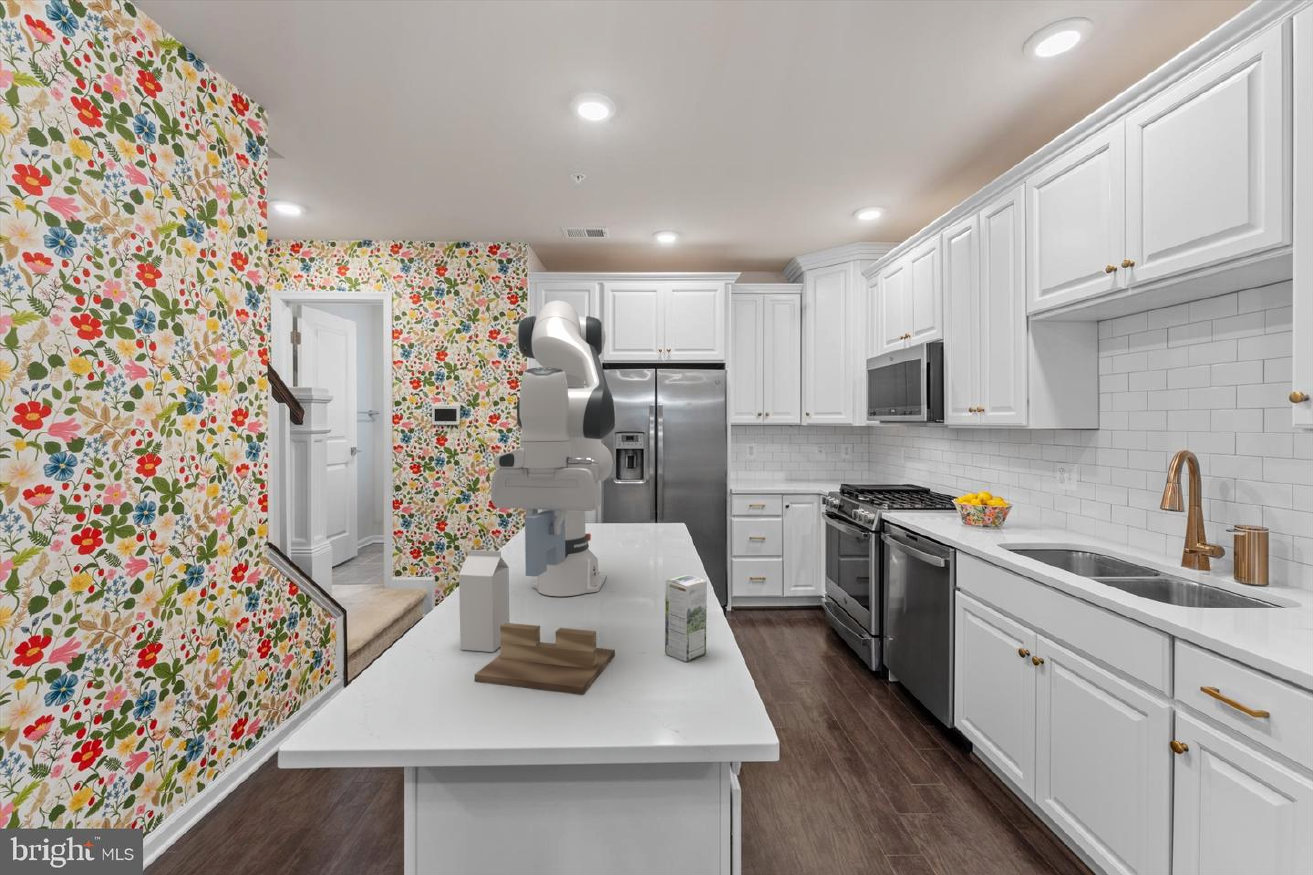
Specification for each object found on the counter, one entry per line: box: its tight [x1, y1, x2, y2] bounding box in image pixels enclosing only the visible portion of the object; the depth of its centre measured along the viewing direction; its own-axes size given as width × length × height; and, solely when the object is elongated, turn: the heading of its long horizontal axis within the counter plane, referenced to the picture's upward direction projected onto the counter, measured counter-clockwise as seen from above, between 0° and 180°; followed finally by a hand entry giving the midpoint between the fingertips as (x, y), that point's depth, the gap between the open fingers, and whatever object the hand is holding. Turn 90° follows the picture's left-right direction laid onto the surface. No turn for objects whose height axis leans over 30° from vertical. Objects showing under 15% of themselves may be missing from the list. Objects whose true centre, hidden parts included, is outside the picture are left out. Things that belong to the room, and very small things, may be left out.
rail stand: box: [474, 622, 616, 695], centre depth 105 cm, size 16×20×7 cm
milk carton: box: [458, 549, 511, 653], centre depth 116 cm, size 7×7×19 cm
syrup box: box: [664, 574, 708, 663], centre depth 111 cm, size 6×6×14 cm
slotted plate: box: [524, 510, 565, 578], centre depth 104 cm, size 12×2×10 cm, turn 165°
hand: (546, 533), depth 104 cm, fingers closed on slotted plate, 2 cm apart
